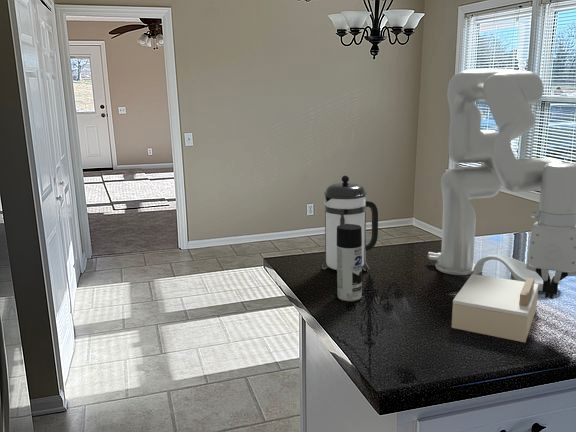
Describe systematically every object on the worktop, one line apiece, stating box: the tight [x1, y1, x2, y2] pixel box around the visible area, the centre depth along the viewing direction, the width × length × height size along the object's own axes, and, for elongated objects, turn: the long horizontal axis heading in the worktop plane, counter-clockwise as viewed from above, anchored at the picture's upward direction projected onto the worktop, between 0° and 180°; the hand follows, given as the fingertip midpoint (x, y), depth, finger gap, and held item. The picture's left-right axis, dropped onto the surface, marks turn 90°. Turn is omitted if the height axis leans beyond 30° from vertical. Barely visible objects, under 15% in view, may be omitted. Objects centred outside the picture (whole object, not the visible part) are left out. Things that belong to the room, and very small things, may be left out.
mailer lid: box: [452, 274, 539, 317], centre depth 126 cm, size 16×20×3 cm
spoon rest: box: [473, 253, 562, 292], centre depth 150 cm, size 24×12×7 cm, turn 45°
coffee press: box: [321, 175, 379, 273], centre depth 162 cm, size 17×16×30 cm
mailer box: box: [451, 289, 539, 343], centre depth 127 cm, size 16×20×6 cm
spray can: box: [336, 224, 363, 302], centre depth 141 cm, size 7×7×20 cm
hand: (549, 296), depth 120 cm, fingers closed
